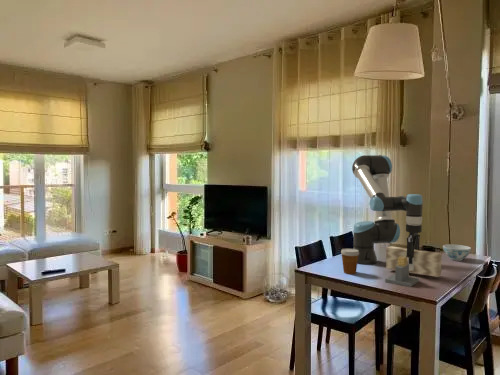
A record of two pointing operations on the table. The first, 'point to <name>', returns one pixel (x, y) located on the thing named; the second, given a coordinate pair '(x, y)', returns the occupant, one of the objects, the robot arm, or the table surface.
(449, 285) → the table surface
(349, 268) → the disposable coffee cup
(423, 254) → the birch beam
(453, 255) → the chinaware
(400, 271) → the stand
